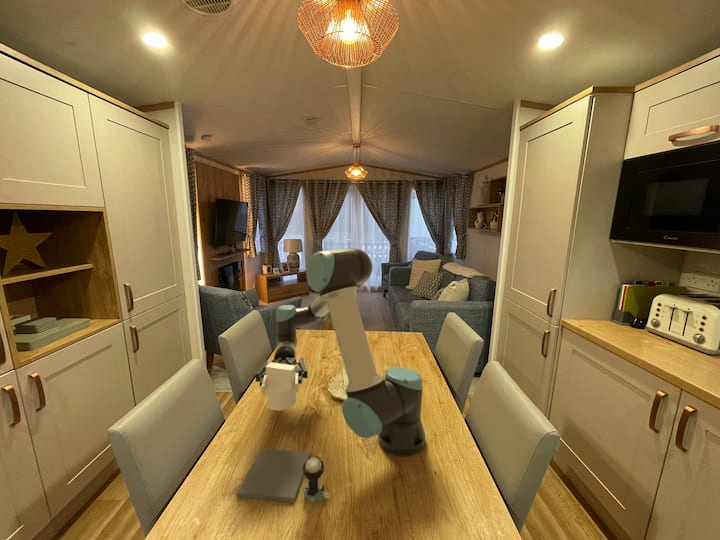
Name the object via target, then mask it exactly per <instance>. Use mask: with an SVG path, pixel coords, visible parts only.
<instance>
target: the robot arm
mask: <svg viewBox="0 0 720 540" xmlns="http://www.w3.org/2000/svg"><path fill="white" fill-rule="evenodd" d="M307 263H308V264H307V265H306V273H305V274H306V281H307V284H308V286H309V287H310V289H311V290H312V291H314V292H317V293H318V296H317V297H316V298H315V299H314V300H313V301H312V302H311V303H310V304H309V305H307V306H302V307H298V308H297V307H296V306H295V305H293V304H284V305H280V306H278V307H277V308H276V313H275V320H276V321H275V322H276V342H277V343H276V348H275V352H274V357H273V359H272V360H271V361H268V360H266V359H265V360H263V363H262V365H261V366H260V368H259V369H258V370H257V371H256V372H255V382H256V383H259V387H261V395H262V396H263V395H266V394H265V393H266V385H267V382H266V366H267V364H269V363H271V362H272V363H279V364H286V365H294V366H295V371H296V378H295V392H296V393H298V392H299V385H300V384H302V383H303V379H308V378H309V377H308V376H309V374H308V373H309V372H308V371H309V370H308V368H307V367H306V364H305V357H304V358H303V357H301V358H299V360H298V359H297V357H296V354H297V345H298V337H297V329H298V328H301V327H305V326H309V325H312V324H313V325H314V324H317V323H321V322H322V321H326V320H327V319H328V315H329V314H330V319H331V322H332V323H331V324H332V326H333V330H334V333H335V337H336V342H337V344H338V347H339V353H340V355H341V359H342V363H343V366H344V369H345V373H346V377H347V381H348V382H347V384H346V387H345V390H344V391H345V394H346V397H347V398H345V399H344V400H343V402H342V406H341V412H342V415H343V418H344V421H345V422H346V424H347V426H348V427H349V428H350V430H351V431H352V432H353V433H354V434H356V435H357V436H358V437H360V438H363V439H370V438H373V437H374V436H376V435H377V439H378V443H379V445H381V447H382V448H383V449H384V450H385V451H387V452H389V453H391V454H394V455H397V456H403V457H405V456H406V457H408V456H412V455H413V456H414V455H416V454H418V453H419V452H421V451H422V450H423V449H424V447H425V444H426V432H425V429H424V425H423V421H422V419H421V417H422V416H421V415H422V399H423V388H424V387H423V378H422V376H421V375H420V374H419V373H418V372H417V371H416V370H414V369H412V368H408V367H404V366H393V367H392V366H391V367H389V368H387V369H386V370H385V372H384V376H383V375H381V374H380V373H378V372H377V368H376V365H375V361H374V357H373V355H372V351H371V348H370V344H369V341H368V337H367V334H366V330H365V328H364V324H363V320H362V317H361V313H360V310H359V306H358V302H357V300H356V297H355V293H356V291H357V289H359V288H361V287H362V286H363V285H364V284H365V283H366V282H368V281H369V279H370V277H371V275H372V271H373V263H372V260H371V258H370V256H369V255H368V254H367V253H366V252H365V251H364V250H361V249H359V248H352V247H351V248H342V249H325V250H320V251H317V252H315V253H313V254H312V255H311V256H310V258H309V259H308V262H307Z"/></svg>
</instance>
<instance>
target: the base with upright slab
mask: <svg viewBox="0 0 720 540" xmlns="http://www.w3.org/2000/svg"><path fill="white" fill-rule="evenodd" d="M270 362H271V363H269V364H267V366H266V382H267V385H266V390H265V393H266V405H267V408H268V409H270V410H273V411H277V412H279V411H285V410H288V409H290V408H292V407H294V406H295V404H296V403H297V392H295V378H296V371H295V366H296V365H295V366H294V365H286V364H279V363H272V361H270Z"/></svg>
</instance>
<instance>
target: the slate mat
mask: <svg viewBox="0 0 720 540" xmlns="http://www.w3.org/2000/svg"><path fill="white" fill-rule="evenodd" d="M310 457H311V453H310V452H306V451H296V450H295V451H293V450H284V449H283V450H282V449H273V448H272V449H270V448H261V449H260V450H259V452H258V454H257V456H256V457H255V459H254V460H253V463H252V464H251V466H250V468H249V470H248V472H247V473H246V475H245V477H244V479H243V481H242V483H241V484H240V487H239V489H238V490H237V492H236V496H237V497H238V498H249V499H257V500H268V501H278V502H285V503H286V502H287V503H295V502H296V500H297V497H298V493H299V490H300V487H301V484H302V483H303V478H304V477H305V476H304V473H303V465H304V463H305V462H306V461H308V460H309V459H311V458H310Z"/></svg>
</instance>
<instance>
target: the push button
mask: <svg viewBox="0 0 720 540" xmlns="http://www.w3.org/2000/svg"><path fill="white" fill-rule="evenodd" d="M324 470H325V463H324V461H323V460H321V459H319V458H317V457H311V458H309V460H308V461H306V462H305V463H304V465H303V473H304V476H303V477H305V478H306V485H305V487H304V490H303V500H306V501H310V503H315V502H323V500H324V499H330V497H331V496H330V493H331V492H329V491H325V486H324V485H322V476H323V474H324Z"/></svg>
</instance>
